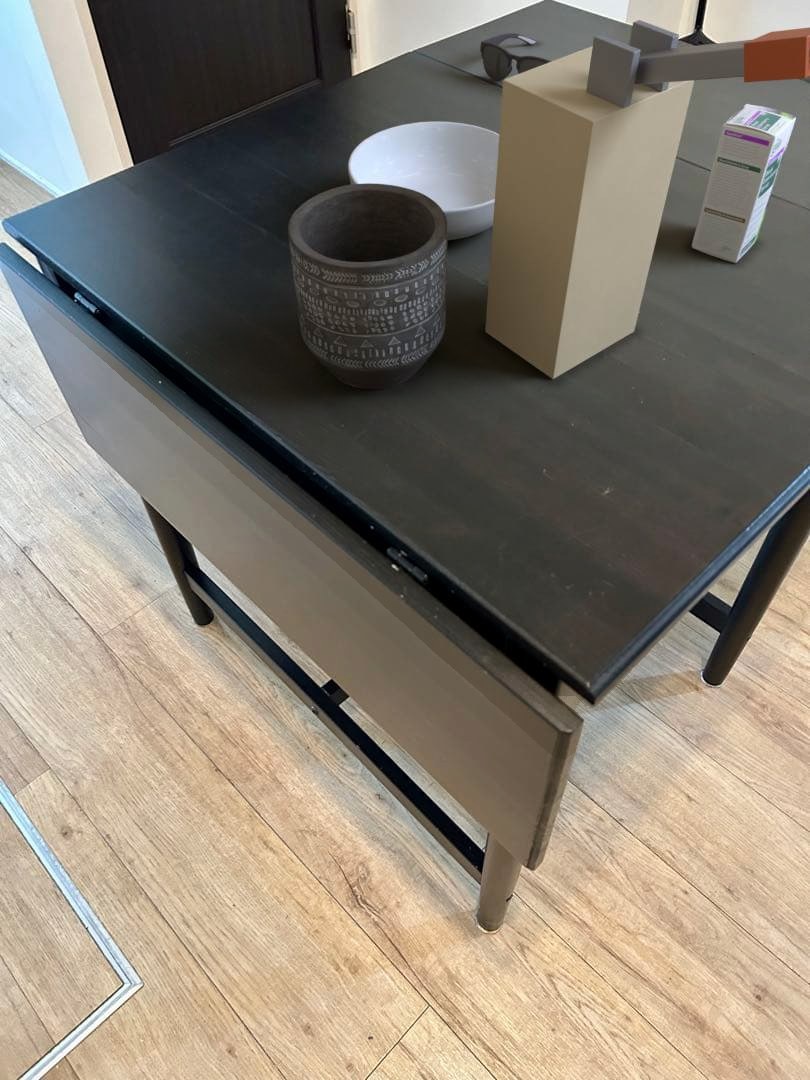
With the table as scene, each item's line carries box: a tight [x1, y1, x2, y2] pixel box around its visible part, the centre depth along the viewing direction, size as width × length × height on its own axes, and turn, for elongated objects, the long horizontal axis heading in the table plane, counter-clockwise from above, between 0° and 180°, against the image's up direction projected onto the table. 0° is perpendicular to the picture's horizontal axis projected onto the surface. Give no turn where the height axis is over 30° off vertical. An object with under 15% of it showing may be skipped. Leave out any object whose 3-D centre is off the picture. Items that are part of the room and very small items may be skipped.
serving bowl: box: [347, 121, 499, 241], centre depth 99 cm, size 21×21×7 cm
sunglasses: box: [479, 32, 553, 83], centre depth 127 cm, size 16×17×5 cm
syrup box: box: [691, 103, 797, 264], centre depth 91 cm, size 6×6×14 cm
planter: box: [287, 183, 448, 390], centre depth 79 cm, size 14×14×15 cm
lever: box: [634, 27, 810, 85], centre depth 59 cm, size 14×3×2 cm, turn 39°
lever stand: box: [484, 19, 695, 380], centre depth 76 cm, size 10×12×29 cm
